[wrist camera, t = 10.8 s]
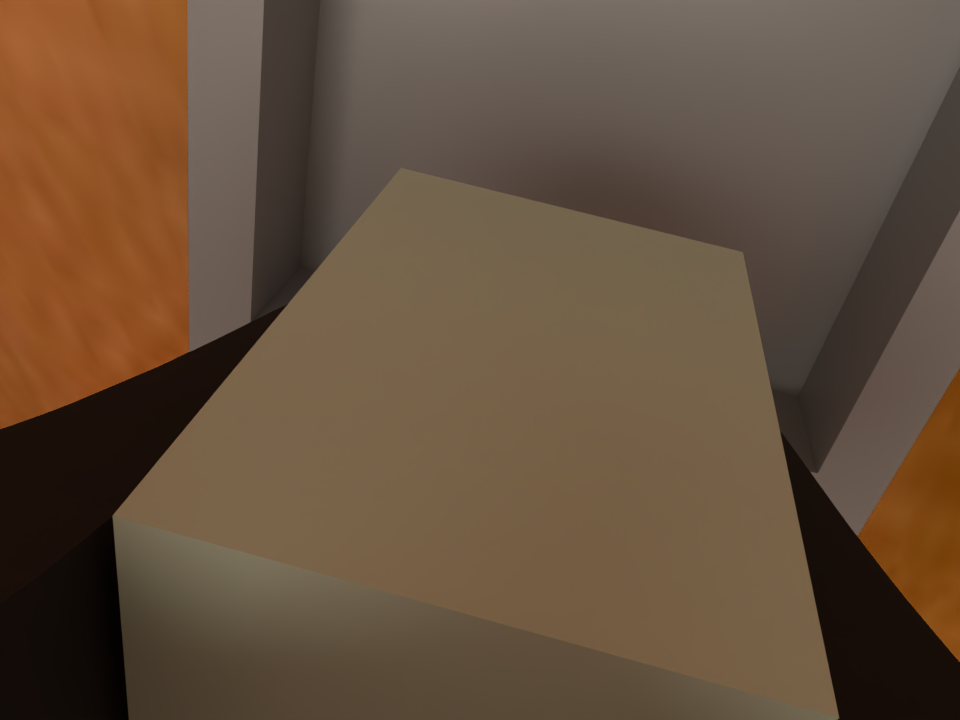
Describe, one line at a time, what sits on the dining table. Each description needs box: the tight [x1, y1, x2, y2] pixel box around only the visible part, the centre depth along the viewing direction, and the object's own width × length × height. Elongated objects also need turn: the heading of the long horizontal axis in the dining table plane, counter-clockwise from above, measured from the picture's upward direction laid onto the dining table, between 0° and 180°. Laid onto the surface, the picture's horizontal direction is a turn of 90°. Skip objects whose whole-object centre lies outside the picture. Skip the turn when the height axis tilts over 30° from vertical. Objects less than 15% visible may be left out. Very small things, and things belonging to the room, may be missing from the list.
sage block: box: [113, 168, 839, 720], centre depth 8 cm, size 4×4×6 cm
